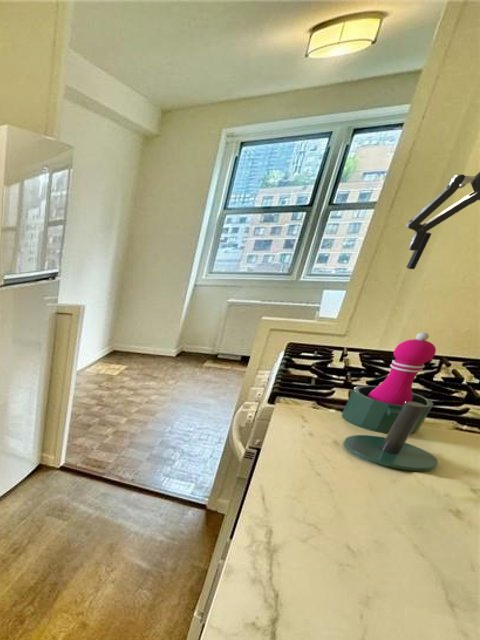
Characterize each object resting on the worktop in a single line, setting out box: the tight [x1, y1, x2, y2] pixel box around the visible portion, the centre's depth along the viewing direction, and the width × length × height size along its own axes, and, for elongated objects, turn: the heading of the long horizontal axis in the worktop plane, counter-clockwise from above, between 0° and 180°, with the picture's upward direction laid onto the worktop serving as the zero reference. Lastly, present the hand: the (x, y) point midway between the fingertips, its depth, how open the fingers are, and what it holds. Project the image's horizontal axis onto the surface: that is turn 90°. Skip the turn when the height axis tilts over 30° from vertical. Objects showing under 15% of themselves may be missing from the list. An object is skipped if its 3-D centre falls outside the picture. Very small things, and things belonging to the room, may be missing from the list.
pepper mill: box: [367, 331, 437, 405], centre depth 105 cm, size 7×7×20 cm
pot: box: [341, 385, 434, 436], centre depth 108 cm, size 13×18×6 cm
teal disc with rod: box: [342, 401, 439, 472], centre depth 94 cm, size 14×14×11 cm
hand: (458, 270), depth 94 cm, fingers open, 13 cm apart
